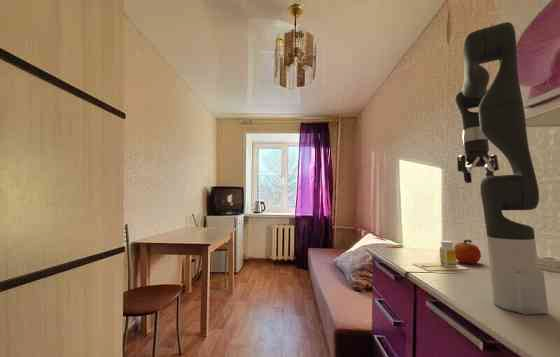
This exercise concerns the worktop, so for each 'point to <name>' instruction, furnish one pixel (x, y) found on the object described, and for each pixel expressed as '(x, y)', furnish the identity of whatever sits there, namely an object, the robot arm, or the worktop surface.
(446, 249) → the supplement bottle
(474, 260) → the fruit
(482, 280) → the worktop surface
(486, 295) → the worktop surface
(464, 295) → the worktop surface
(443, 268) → the paper
